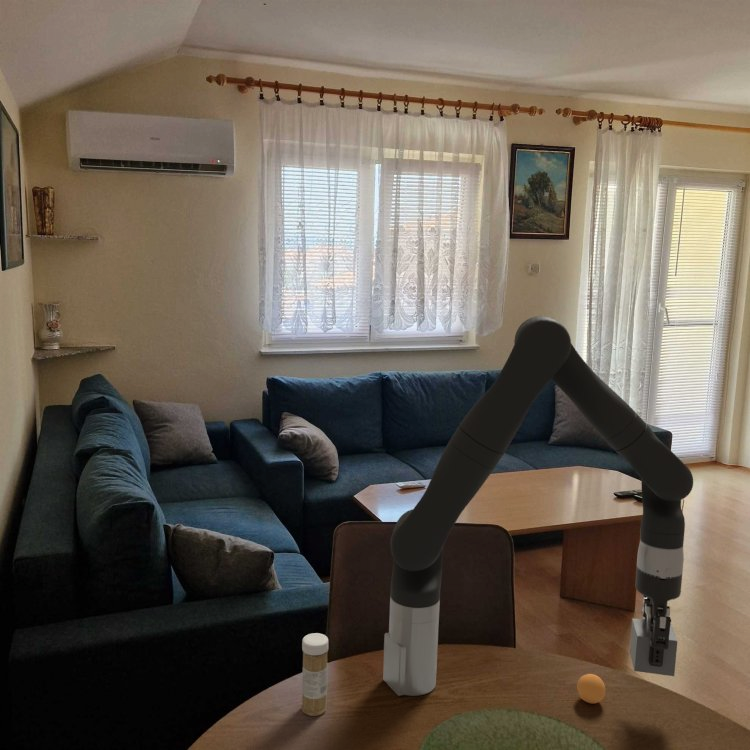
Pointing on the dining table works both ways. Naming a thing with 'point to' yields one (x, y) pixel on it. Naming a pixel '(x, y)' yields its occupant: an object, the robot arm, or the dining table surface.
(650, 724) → the dining table surface
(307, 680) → the sprinkles bottle
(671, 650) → the matte gray cube
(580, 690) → the ball
